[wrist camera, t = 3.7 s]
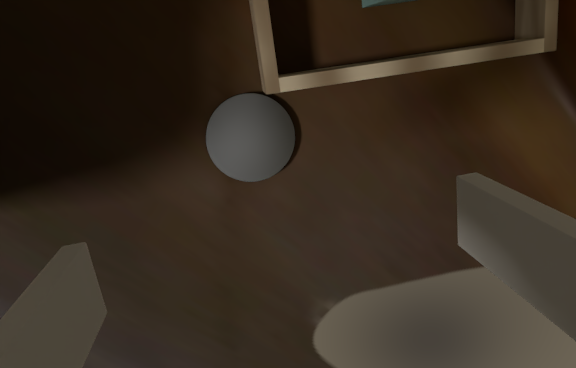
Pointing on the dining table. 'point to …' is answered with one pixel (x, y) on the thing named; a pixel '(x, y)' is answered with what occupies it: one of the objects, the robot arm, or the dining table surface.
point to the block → (381, 2)
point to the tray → (528, 40)
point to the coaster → (250, 137)
